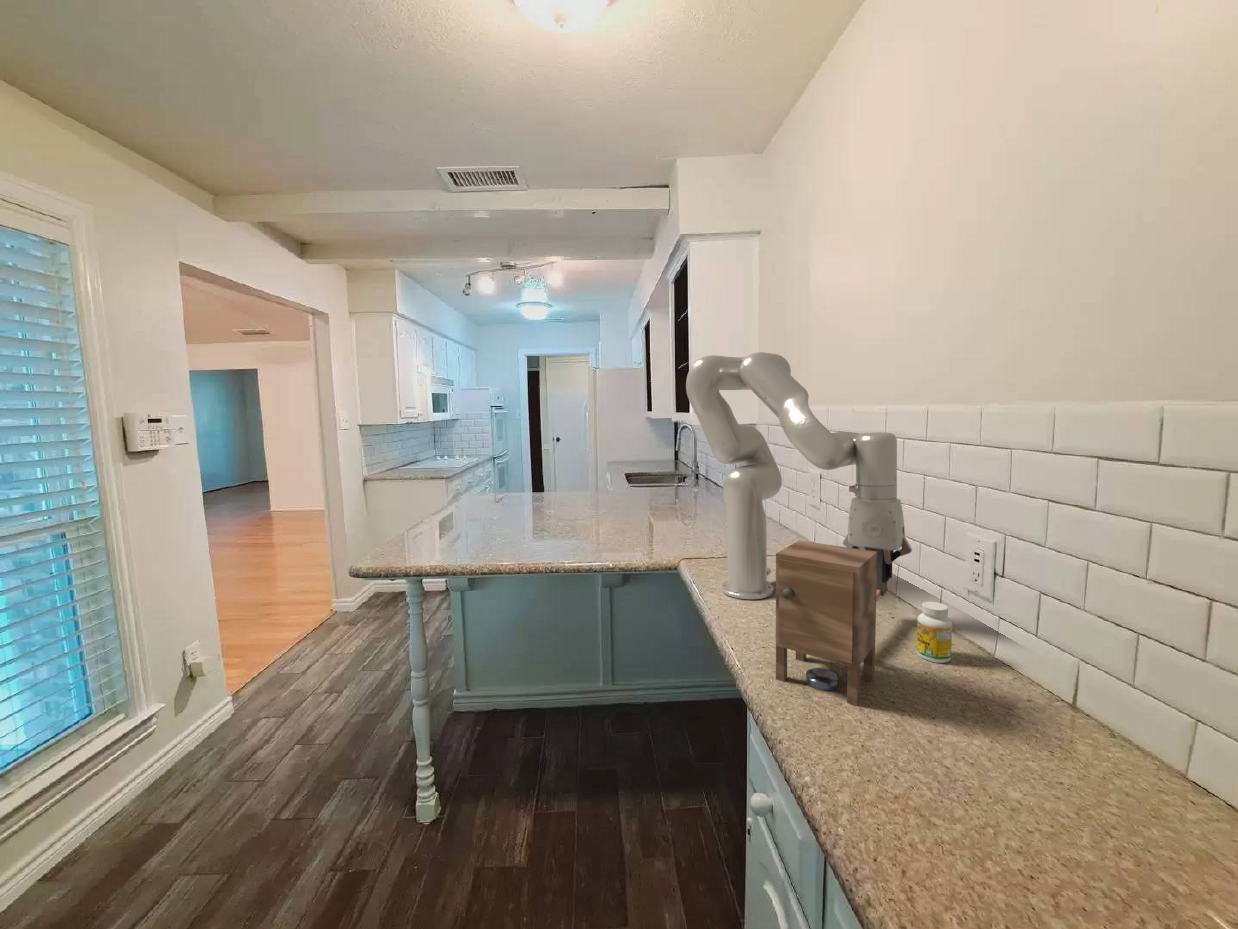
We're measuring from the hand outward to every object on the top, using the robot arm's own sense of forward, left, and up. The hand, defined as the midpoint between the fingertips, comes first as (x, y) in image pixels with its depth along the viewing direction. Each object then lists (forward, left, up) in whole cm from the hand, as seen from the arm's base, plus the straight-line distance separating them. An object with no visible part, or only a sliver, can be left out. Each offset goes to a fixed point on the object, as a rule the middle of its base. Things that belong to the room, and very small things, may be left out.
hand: (876, 578), depth 107 cm
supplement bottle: (+10, +12, -10) cm, 18 cm away
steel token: (+30, -1, -10) cm, 32 cm away
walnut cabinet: (+29, -1, -9) cm, 31 cm away
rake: (+9, 0, -4) cm, 10 cm away
